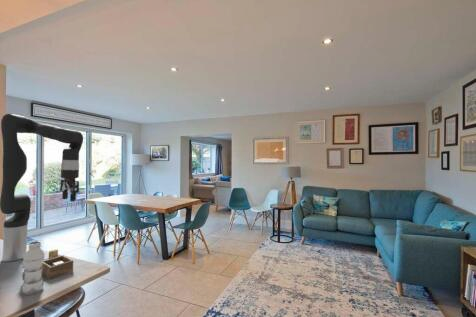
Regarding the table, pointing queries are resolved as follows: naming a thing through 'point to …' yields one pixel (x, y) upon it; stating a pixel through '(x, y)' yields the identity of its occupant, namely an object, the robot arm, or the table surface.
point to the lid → (52, 254)
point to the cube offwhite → (57, 263)
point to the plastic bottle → (33, 269)
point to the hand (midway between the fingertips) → (68, 200)
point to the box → (57, 267)
